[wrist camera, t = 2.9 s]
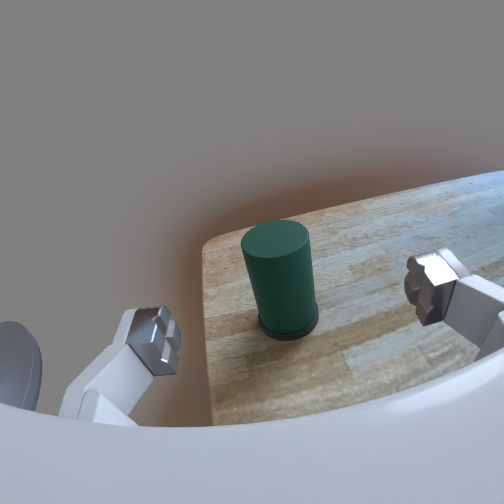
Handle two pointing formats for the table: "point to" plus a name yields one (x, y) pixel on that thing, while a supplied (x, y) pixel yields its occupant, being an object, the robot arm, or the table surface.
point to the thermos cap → (281, 278)
